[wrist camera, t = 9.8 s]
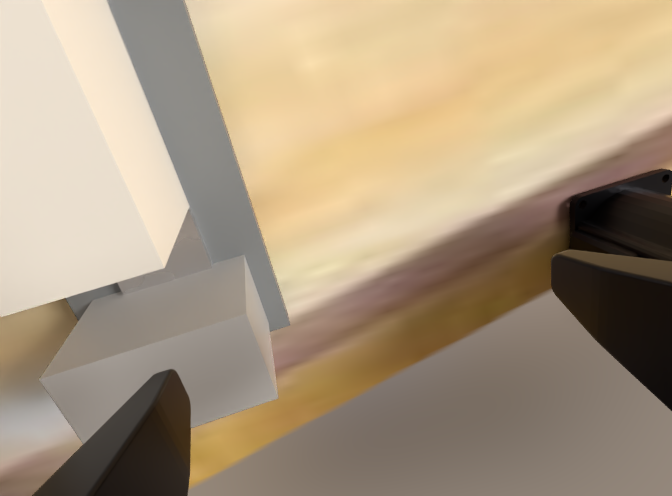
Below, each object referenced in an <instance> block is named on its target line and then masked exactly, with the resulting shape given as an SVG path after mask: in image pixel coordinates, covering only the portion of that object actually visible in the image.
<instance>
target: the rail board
mask: <svg viewBox="0 0 672 496" xmlns="http://www.w3.org/2000/svg"><path fill="white" fill-rule="evenodd" d="M107 3H108V5H109V8H110V10H111V13H112V15H113V18H114V20H115V22H116V25H117V27H118V30H119V32H120V35H121V37H122V40H123V42H124V45H125V47H126V50H127V52H128V55H129V57H130V60H131V62H132V65H133V67H134V70H135V72H136V75H137V77H138V80H139V82H140V85H141V87H142V90H143V92H144V95H145V97H146V100H147V102H148V104H149V107H150V109H151V112H152V114H153V117H154V119H155V122H156V124H157V127H158V129H159V132H160V134H161V137H162V139H163V142H164V144H165V147H166V149H167V152H168V154H169V157H170V159H171V162H172V164H173V167H174V169H175V172H176V174H177V177H178V179H179V182H180V184H181V186H182V189H183V191H184V194H185V196H186V199H187V201H188V204H189V209H188V211H187V214H186V216H185V218H184V221H183V223H182V226H181V228H180V231H179V233H178V236H177V238H176V241H175V243H174V246H173V248H172V251H171V253H170V256H169V258H168V261H167V263H166V266H165V268H163V269H160V270H156V271H153V272H150V273H146V274H143V275H140V276H136V277H133V278H130V279H126V280H123V281H120V282H117V283H113V284H110V285H107V286H103V287H100V288H97V289H93V290H90V291H87V292H83V293H80V294H77V295H73V296H70V297H67V298H65V299H66V300H67V302H68V304H69V306H70V307H71V309H72V311H73V312H74V314H75V316H76V317H77V319H78V323H77V324H76V326H75V327H74V328H73V330H72V331H71V333H70V334H69V336H68V337H67V339H66V340H65V342H64V343H63V345H62V346H61V348H60V349H59V351H58V352H57V354H56V355H55V357H54V358H53V359H52V361H51V362H50V364H49V365H48V367H47V368H46V370H45V371H44V373H43V374H42V376H41V377H40V379H39V380H40V382H41V383H42V385H43V386H44V388H45V389H46V391H47V392H48V393H49V395H50V396H51V398H52V399H53V401H54V402H55V404H56V405H57V407H58V408H59V409H60V411H61V412H62V414H63V415H64V417H65V418H66V420H67V421H68V423H69V424H70V425H71V427H72V428H73V430H74V431H75V433H76V434H77V436H78V437H79V439H80V440H81V441H82V443H83V444H84V443H85V442H86V441H87V440H88V439H89V438H90V437H91V436H92V435H93V434H94V433H95V432H96V431H97V430H98V429H99V428H100V427H101V426H102V425H103V424H104V423H105V422H106V421H107V420H108V419H109V418H110V417H111V416H112V415H113V414H114V413H115V412H116V411H117V410H118V409H119V408H120V407H121V406H122V405H123V404H124V403H125V402H126V401H127V400H128V399H129V398H130V397H131V396H132V395H133V394H134V393H135V392H137V391H138V390H139V389H140V388H141V387H142V386H143V385H144V384H145V383H146V382H147V381H148V380H149V379H150V378H151V377H152V376H153V375H154V374H155V373H158V372H162V371H165V370H168V369H174V370H175V371H176V372H177V373H178V375H179V377H180V379H181V381H182V383H183V385H184V388H185V390H186V392H187V394H188V396H189V399H190V404H191V428H193V427H196V426H199V425H202V424H205V423H208V422H211V421H214V420H217V419H220V418H223V417H225V416H228V415H231V414H234V413H237V412H240V411H243V410H246V409H249V408H252V407H254V406H257V405H260V404H263V403H266V402H269V401H272V400H275V399H278V391H277V383H276V375H275V368H274V360H273V353H272V345H271V337H270V332H271V331H274V330H277V329H280V328H283V327H286V326H289V325H290V322H289V318H288V313H287V310H286V307H285V304H284V301H283V298H282V295H281V292H280V289H279V286H278V283H277V280H276V277H275V274H274V271H273V268H272V265H271V262H270V259H269V256H268V253H267V250H266V247H265V244H264V240H263V237H262V234H261V231H260V228H259V225H258V222H257V219H256V216H255V213H254V210H253V207H252V204H251V201H250V198H249V195H248V192H247V189H246V186H245V183H244V180H243V177H242V174H241V171H240V168H239V165H238V162H237V159H236V156H235V153H234V150H233V146H232V143H231V140H230V137H229V134H228V131H227V128H226V125H225V122H224V119H223V116H222V113H221V110H220V107H219V104H218V101H217V98H216V95H215V92H214V89H213V86H212V83H211V80H210V77H209V74H208V71H207V68H206V65H205V62H204V59H203V56H202V52H201V49H200V46H199V43H198V40H197V37H196V34H195V31H194V28H193V25H192V22H191V19H190V16H189V13H188V10H187V7H186V4H185V1H184V0H107Z"/></svg>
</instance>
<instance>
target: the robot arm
mask: <svg viewBox="0 0 672 496" xmlns="http://www.w3.org/2000/svg"><path fill="white" fill-rule="evenodd" d="M671 189H672V171H671V170H667V169H658V170H655V171H652V172H649V173H645V174H642V175H639V176H636V177H633V178H629V179H626V180H623V181H620V182H617V183H613V184H610V185H607V186H604V187H601V188H597V189H594V190H591V191H588V192H585V193H581V194H578V195H576V196H575V197H574V198H573V199H572V200H571V202H570V244H569V250H566V251H563V252H560V253H556V254H554V255H553V257H552V259H551V286H552V289H553V292H554V293H555V295H556V296H557V297H558V298H559V299H560V300H561V302H562V303H563V304H564V305H565V306H566V307H567V309H569V311H570V312H571V313H572V314H573V315H574V316H575V317H576V319H577V320H578V321H579V322H580V323H581V324H582V325H583V327H584V328H585V329H586V330H587V331H588V332H589V333H590V334H591V336H592V337H593V338H594V339H595V340H596V341H597V342H598V343H599V344H600V345H601V346H602V347H603V348H604V349H606V351H608V352H609V353H610V354H611V355H612V356H613V357H614V358H615V359H616V360H617V361H618V362H619V363H620V364H622V365H623V366H624V367H625V368H626V369H627V370H628V371H629V372H630V373H631V374H632V375H633V376H634V377H636V378H637V379H638V380H639V381H640V382H641V383H642V384H643V385H644V386H645V387H646V388H647V389H648V390H650V391H651V392H652V393H653V394H654V395H655V396H656V397H657V398H658V399H659V400H660V401H661V402H662V403H664V404H665V405H666V406H667V407H668V408H669V409H670V410H671V411H672V196H671ZM581 201H582V202H581ZM580 202H581V204H580ZM579 204H580V206H579ZM190 444H191V404H190V399H189V396H188V394H187V392H186V390H185V388H184V385H183V383H182V381H181V379H180V377H179V375H178V373H177V372H176V371H175V370H174V369H168V370H165V371H162V372H158V373H155V374H154V375H153V376H152V377H151V378H150V379H149V380H148V381H147V382H146V383H145V384H144V385H143V386H142V387H141V388H140V389H139V390H138V391H137V392H135V393H134V394H133V395H132V396H131V397H130V398H129V399H128V400H127V401H126V402H125V403H124V404H123V405H122V406H121V407H120V408H119V409H118V410H117V411H116V412H115V413H114V414H113V415H112V416H111V417H110V418H109V419H108V420H107V421H106V422H105V423H104V424H103V425H102V426H101V427H100V428H99V429H98V430H97V431H96V432H95V433H94V434H93V435H92V436H91V437H90V438H89V439H88V440H87V441H86V442H85V443H84V444H83V445H82V446H81V447H80V448H79V449H78V450H77V451H76V452H75V453H74V454H73V455H72V456H71V457H70V458H69V459H68V460H67V461H66V462H65V463H64V464H63V465H62V466H61V467H60V468H59V469H58V470H57V471H56V472H55V473H54V474H53V475H52V476H51V477H50V478H49V479H48V480H47V481H46V482H45V483H44V484H43V485H42V486H41V487H40V488H39V489H38V490H37V491H36V492H35V493H34V494H33V495H32V496H187V495H188V487H189V477H190Z"/></svg>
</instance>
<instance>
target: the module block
mask: <svg viewBox="0 0 672 496" xmlns="http://www.w3.org/2000/svg"><path fill="white" fill-rule="evenodd" d="M188 209H189V204H188V201H187V199H186V196H185V194H184V191H183V189H182V186H181V184H180V182H179V179H178V177H177V174H176V172H175V169H174V167H173V164H172V162H171V159H170V157H169V154H168V152H167V149H166V147H165V144H164V142H163V139H162V137H161V134H160V132H159V129H158V127H157V124H156V122H155V119H154V117H153V114H152V112H151V109H150V107H149V104H148V102H147V100H146V97H145V95H144V92H143V90H142V87H141V85H140V82H139V80H138V77H137V75H136V72H135V70H134V67H133V65H132V62H131V60H130V57H129V55H128V52H127V50H126V47H125V45H124V42H123V40H122V37H121V35H120V32H119V30H118V27H117V25H116V22H115V20H114V18H113V15H112V13H111V10H110V8H109V5H108V3H107V0H0V316H1V317H4V316H7V315H10V314H14V313H17V312H20V311H23V310H27V309H30V308H33V307H37V306H40V305H43V304H47V303H50V302H53V301H57V300H60V299H63V298H67V297H70V296H73V295H77V294H80V293H83V292H87V291H90V290H93V289H97V288H100V287H103V286H107V285H110V284H113V283H117V282H120V281H123V280H126V279H130V278H133V277H136V276H140V275H143V274H146V273H150V272H153V271H156V270H160V269H163V268H165V266H166V263H167V261H168V258H169V256H170V253H171V251H172V248H173V246H174V243H175V241H176V238H177V236H178V233H179V231H180V228H181V226H182V223H183V221H184V218H185V216H186V214H187V211H188Z"/></svg>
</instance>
